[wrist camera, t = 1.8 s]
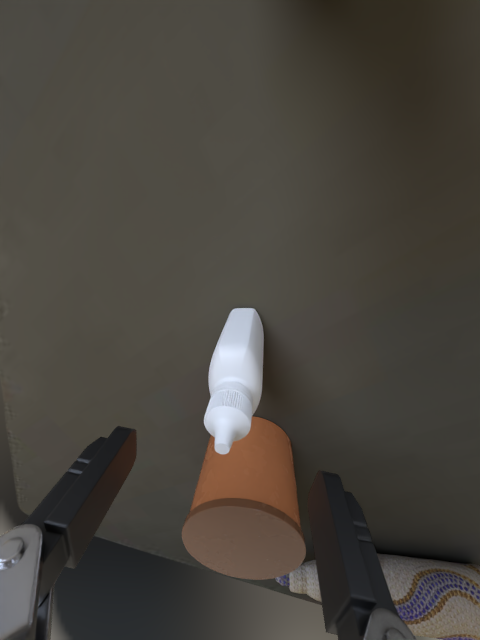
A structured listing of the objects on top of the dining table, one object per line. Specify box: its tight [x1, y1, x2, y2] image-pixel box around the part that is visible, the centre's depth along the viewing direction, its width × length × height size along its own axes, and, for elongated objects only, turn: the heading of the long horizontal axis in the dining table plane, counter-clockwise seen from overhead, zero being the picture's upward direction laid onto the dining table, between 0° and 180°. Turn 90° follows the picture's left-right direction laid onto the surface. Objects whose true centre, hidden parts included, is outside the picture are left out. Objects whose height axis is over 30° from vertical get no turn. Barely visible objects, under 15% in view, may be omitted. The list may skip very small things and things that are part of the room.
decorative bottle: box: [275, 553, 480, 640], centre depth 29 cm, size 26×8×7 cm, turn 91°
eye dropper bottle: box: [204, 308, 264, 454], centre depth 16 cm, size 4×6×12 cm
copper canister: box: [182, 416, 306, 580], centre depth 23 cm, size 10×10×9 cm
